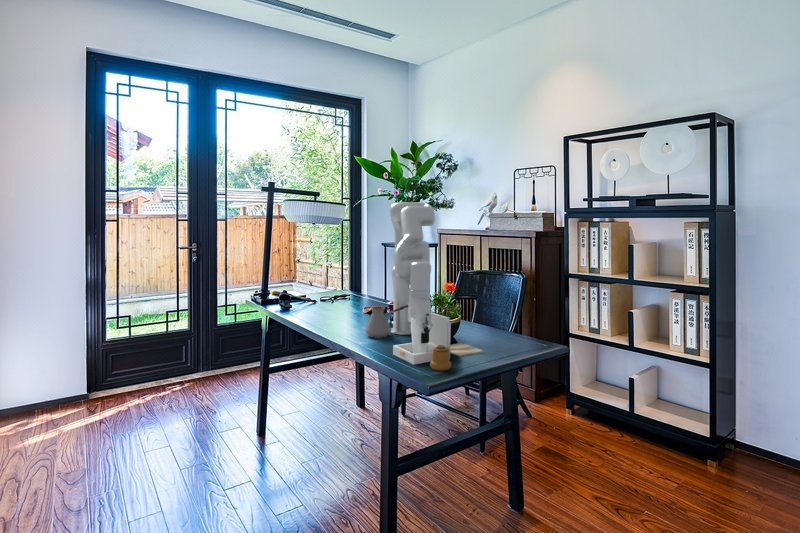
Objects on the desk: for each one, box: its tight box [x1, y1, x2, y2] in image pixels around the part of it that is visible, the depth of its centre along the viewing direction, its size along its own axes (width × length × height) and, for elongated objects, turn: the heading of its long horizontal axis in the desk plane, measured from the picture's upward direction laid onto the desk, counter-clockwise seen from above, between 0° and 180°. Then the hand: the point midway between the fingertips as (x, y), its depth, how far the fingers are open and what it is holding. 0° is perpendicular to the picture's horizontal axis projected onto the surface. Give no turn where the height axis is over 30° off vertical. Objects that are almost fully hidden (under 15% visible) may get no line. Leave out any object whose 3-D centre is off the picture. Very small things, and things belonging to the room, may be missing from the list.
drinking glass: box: [410, 318, 428, 354], centre depth 180 cm, size 7×7×15 cm
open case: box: [392, 311, 452, 366], centre depth 180 cm, size 16×16×16 cm
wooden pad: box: [450, 342, 485, 358], centre depth 190 cm, size 14×12×1 cm
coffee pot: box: [364, 305, 408, 339], centre depth 211 cm, size 21×12×15 cm, turn 85°
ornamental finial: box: [429, 345, 452, 372], centre depth 167 cm, size 8×8×8 cm
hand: (419, 340), depth 181 cm, fingers closed on drinking glass, 6 cm apart
